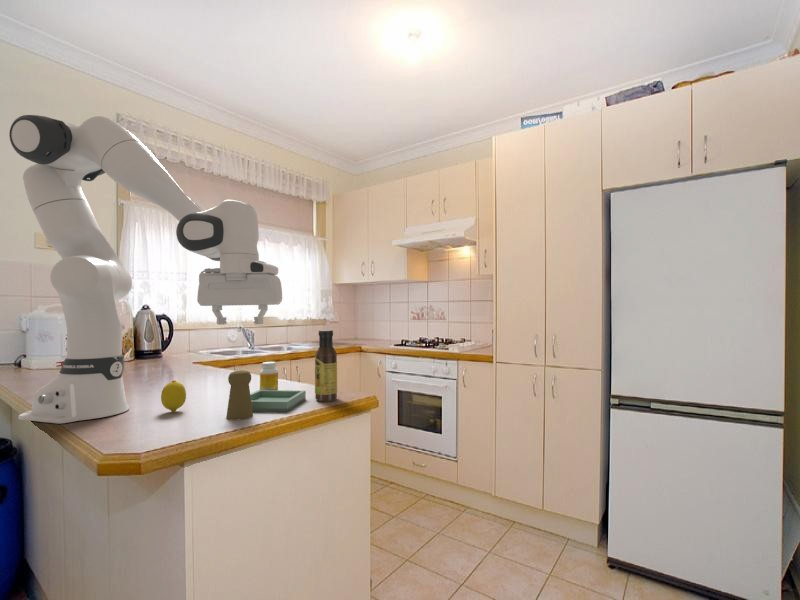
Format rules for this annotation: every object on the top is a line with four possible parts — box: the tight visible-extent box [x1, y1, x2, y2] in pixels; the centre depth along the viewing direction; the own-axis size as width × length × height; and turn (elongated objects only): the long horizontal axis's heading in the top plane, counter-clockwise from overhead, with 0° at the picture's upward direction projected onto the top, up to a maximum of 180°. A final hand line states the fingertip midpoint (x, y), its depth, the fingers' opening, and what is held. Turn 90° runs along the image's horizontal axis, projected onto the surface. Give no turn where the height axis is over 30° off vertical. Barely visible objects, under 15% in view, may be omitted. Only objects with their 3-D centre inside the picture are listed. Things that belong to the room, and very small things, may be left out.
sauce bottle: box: [314, 329, 338, 403], centre depth 114 cm, size 6×6×20 cm
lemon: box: [160, 379, 187, 413], centre depth 102 cm, size 6×6×8 cm
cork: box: [225, 369, 254, 420], centre depth 97 cm, size 6×6×11 cm
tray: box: [250, 389, 307, 413], centre depth 108 cm, size 14×14×2 cm
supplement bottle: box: [259, 361, 279, 390], centre depth 123 cm, size 5×5×10 cm
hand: (240, 324), depth 97 cm, fingers open, 8 cm apart
